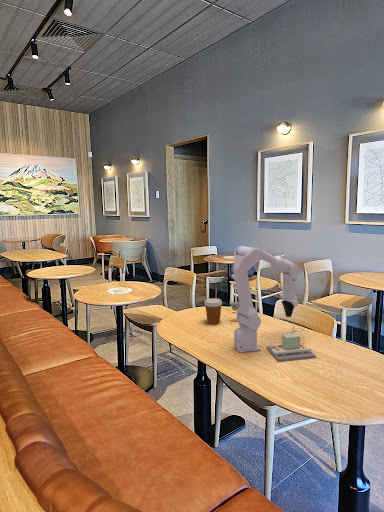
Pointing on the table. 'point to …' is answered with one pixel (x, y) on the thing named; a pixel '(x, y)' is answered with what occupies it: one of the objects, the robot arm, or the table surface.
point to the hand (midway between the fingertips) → (288, 316)
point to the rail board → (290, 353)
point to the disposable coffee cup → (213, 310)
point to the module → (290, 341)
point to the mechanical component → (235, 304)
